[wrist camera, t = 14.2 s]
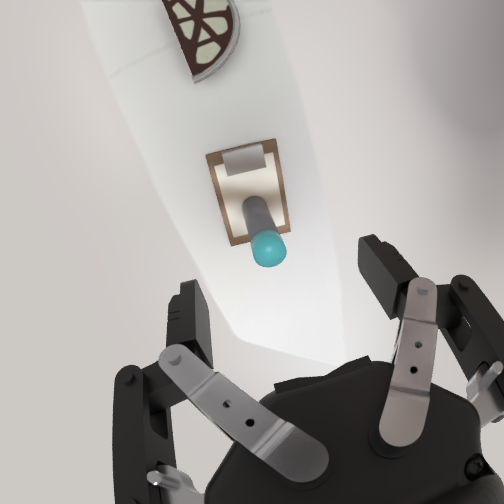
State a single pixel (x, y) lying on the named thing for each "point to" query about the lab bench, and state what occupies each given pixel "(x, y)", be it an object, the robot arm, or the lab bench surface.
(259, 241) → the marker
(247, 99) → the lab bench surface
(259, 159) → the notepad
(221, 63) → the food container
